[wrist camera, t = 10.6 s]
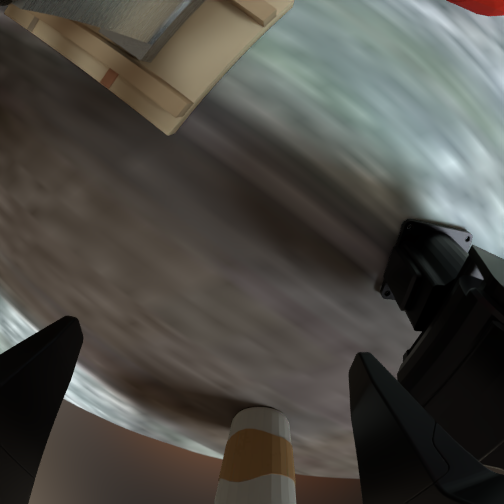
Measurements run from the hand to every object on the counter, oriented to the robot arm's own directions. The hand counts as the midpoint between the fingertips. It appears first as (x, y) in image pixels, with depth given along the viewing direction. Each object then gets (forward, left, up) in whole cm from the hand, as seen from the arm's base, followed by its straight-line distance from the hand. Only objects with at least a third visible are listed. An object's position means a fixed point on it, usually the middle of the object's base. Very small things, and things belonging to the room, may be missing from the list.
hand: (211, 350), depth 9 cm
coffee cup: (-4, +24, -13) cm, 28 cm away
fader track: (+10, -14, -13) cm, 22 cm away
